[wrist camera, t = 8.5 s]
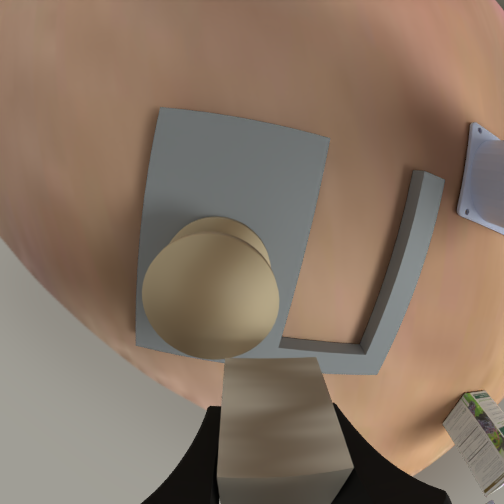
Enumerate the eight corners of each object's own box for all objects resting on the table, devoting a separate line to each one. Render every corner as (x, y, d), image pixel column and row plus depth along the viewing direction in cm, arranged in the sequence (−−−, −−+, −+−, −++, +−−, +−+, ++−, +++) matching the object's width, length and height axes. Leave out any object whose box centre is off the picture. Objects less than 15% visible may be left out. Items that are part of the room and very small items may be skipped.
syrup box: (485, 388, 26) (538, 453, 12) (463, 420, 27) (506, 485, 13) (464, 391, 25) (520, 467, 11) (439, 424, 27) (484, 500, 13)
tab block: (316, 356, 12) (354, 467, 6) (304, 414, 13) (325, 511, 7) (225, 357, 12) (216, 477, 6) (226, 416, 13) (222, 517, 7)
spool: (280, 227, 17) (294, 250, 12) (258, 322, 19) (262, 367, 14) (171, 208, 16) (147, 223, 12) (161, 305, 18) (140, 345, 14)
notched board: (433, 178, 18) (445, 179, 16) (370, 364, 22) (377, 374, 21) (166, 111, 16) (160, 107, 15) (141, 334, 20) (135, 345, 19)
